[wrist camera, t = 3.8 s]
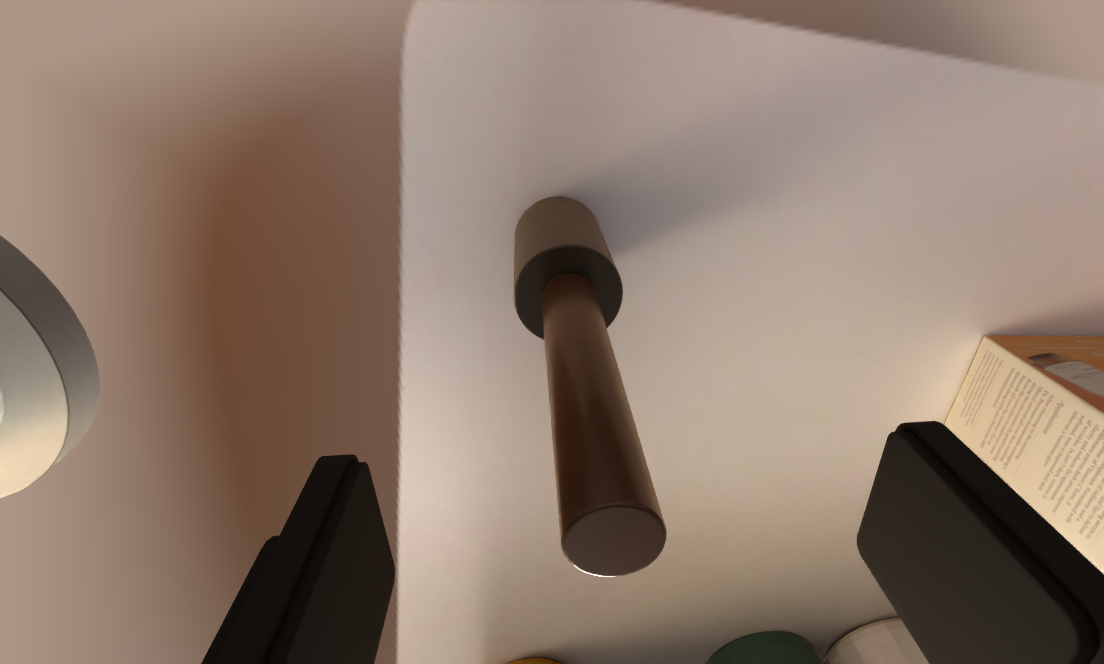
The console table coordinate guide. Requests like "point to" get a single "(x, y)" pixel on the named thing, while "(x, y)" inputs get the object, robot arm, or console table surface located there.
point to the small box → (1041, 427)
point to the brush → (586, 390)
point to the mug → (877, 645)
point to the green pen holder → (767, 650)
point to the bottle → (534, 661)
